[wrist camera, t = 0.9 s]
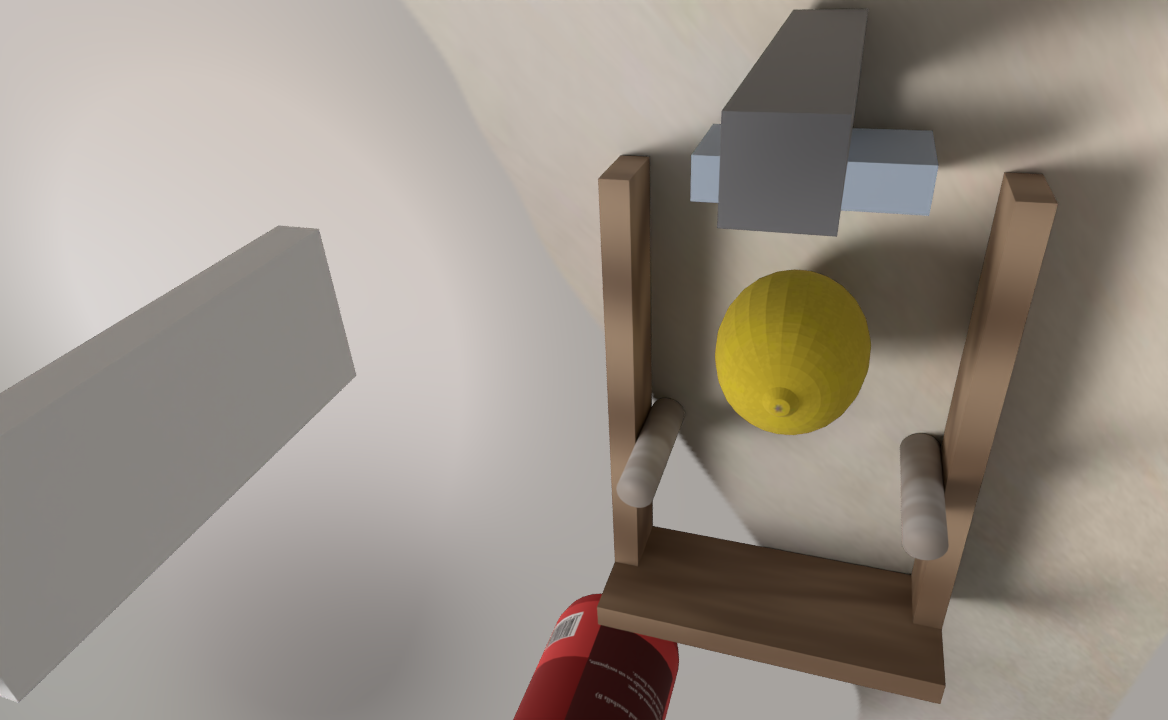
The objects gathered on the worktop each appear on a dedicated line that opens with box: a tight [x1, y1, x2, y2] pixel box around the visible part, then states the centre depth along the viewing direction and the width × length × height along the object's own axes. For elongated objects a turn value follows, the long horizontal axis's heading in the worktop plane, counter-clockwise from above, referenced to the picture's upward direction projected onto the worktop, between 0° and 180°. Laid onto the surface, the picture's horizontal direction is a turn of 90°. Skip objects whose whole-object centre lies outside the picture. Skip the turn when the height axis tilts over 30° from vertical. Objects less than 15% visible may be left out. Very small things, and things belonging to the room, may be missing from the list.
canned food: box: [513, 594, 679, 720], centre depth 42 cm, size 8×8×11 cm
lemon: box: [715, 270, 871, 435], centre depth 29 cm, size 6×6×8 cm
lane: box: [597, 155, 1058, 704], centre depth 32 cm, size 21×15×6 cm
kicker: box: [690, 9, 938, 237], centre depth 22 cm, size 6×8×14 cm
